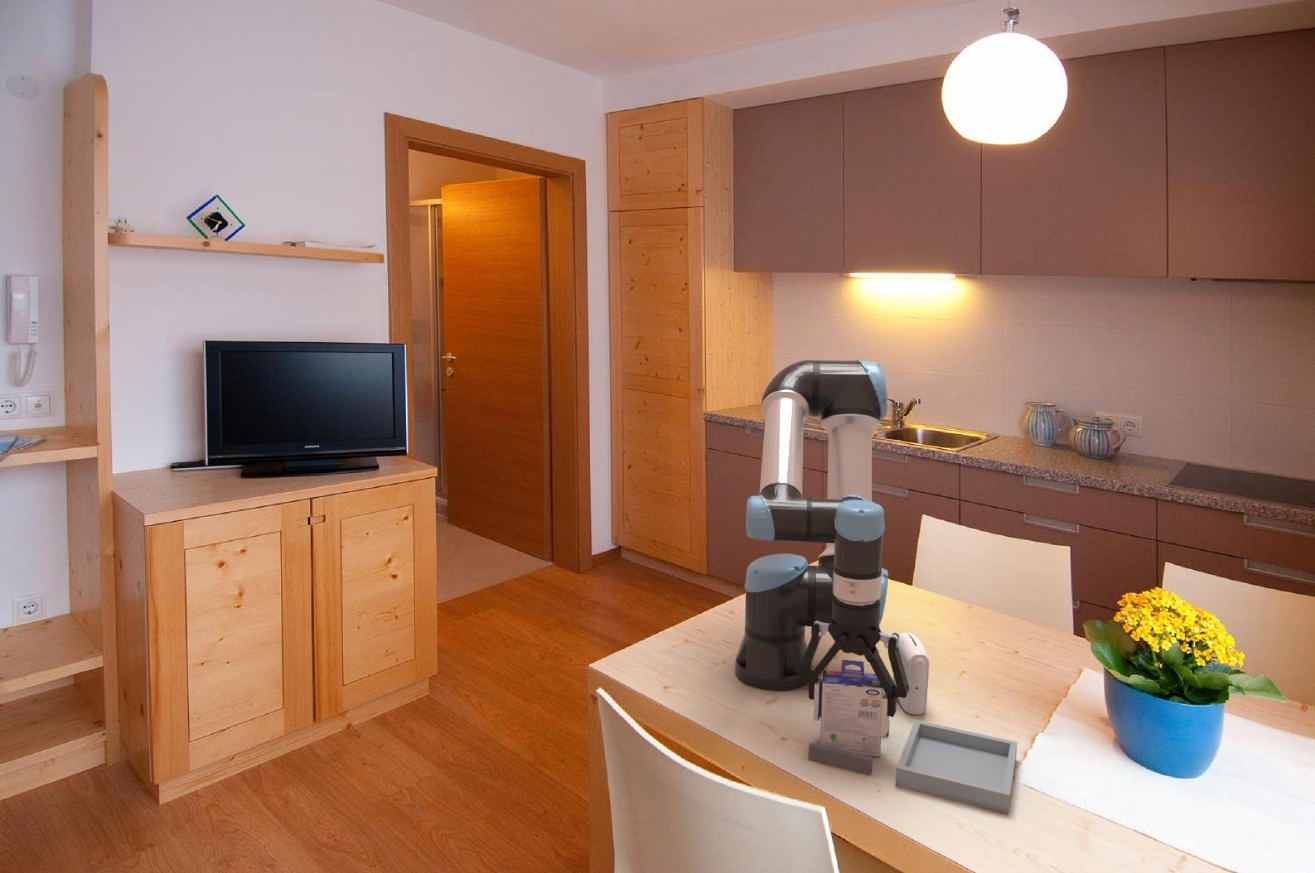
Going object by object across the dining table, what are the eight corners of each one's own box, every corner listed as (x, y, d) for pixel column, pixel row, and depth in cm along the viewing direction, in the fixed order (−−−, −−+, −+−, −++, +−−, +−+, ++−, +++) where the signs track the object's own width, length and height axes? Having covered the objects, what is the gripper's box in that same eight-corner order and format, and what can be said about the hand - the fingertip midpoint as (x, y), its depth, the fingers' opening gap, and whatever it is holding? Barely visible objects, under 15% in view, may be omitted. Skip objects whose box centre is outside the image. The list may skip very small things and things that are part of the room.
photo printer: (929, 715, 151) (933, 650, 149) (904, 715, 151) (908, 650, 149) (912, 688, 161) (916, 626, 159) (890, 688, 161) (893, 626, 159)
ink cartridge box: (879, 740, 143) (883, 659, 140) (881, 758, 137) (886, 674, 135) (819, 734, 144) (822, 654, 142) (819, 752, 139) (822, 669, 136)
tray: (895, 785, 130) (896, 767, 129) (914, 735, 144) (915, 719, 143) (1008, 813, 123) (1009, 795, 122) (1016, 758, 137) (1017, 741, 136)
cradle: (808, 759, 137) (808, 745, 136) (831, 720, 149) (831, 706, 149) (870, 775, 132) (871, 760, 132) (889, 733, 145) (889, 719, 144)
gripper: (780, 593, 138) (777, 719, 142) (926, 617, 128) (918, 752, 132) (794, 579, 144) (790, 699, 148) (934, 601, 134) (926, 730, 138)
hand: (850, 724), depth 140 cm, fingers closed on ink cartridge box, 10 cm apart
